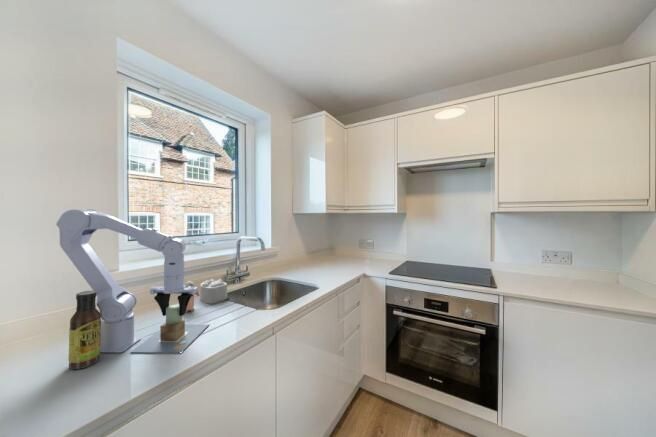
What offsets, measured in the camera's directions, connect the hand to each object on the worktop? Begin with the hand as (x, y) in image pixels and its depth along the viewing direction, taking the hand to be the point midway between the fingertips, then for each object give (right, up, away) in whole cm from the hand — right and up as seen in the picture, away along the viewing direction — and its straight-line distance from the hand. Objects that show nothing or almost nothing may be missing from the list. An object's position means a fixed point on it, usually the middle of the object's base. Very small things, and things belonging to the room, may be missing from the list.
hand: (174, 314), depth 82 cm
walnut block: (0, -7, 0) cm, 7 cm away
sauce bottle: (-16, -8, -14) cm, 23 cm away
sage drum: (0, -2, 0) cm, 2 cm away
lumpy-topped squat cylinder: (-5, -7, +38) cm, 39 cm away
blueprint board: (0, -8, 0) cm, 8 cm away
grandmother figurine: (-8, -7, +23) cm, 25 cm away
